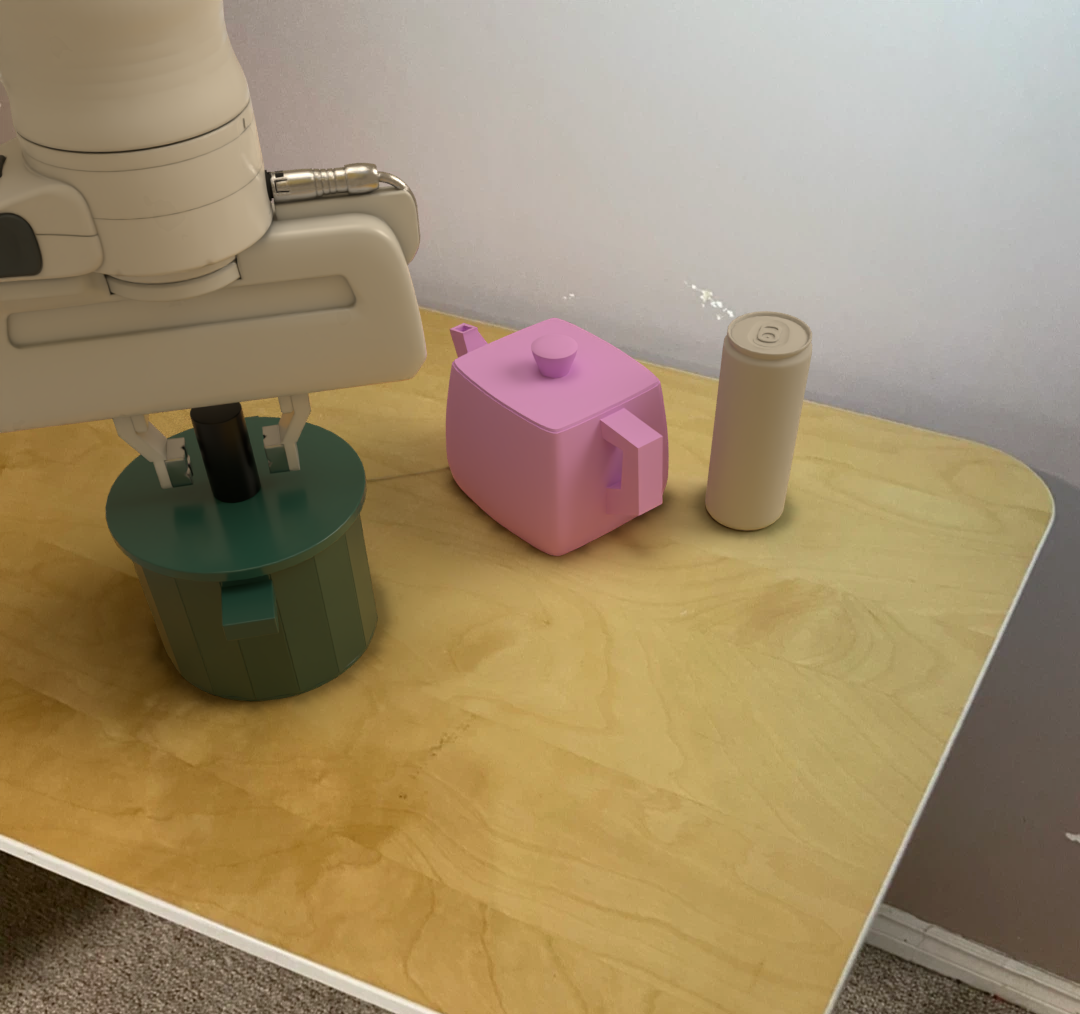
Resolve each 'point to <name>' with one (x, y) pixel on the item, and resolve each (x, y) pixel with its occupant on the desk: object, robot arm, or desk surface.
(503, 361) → the teapot
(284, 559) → the lid
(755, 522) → the beverage can
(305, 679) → the pot
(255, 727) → the desk surface
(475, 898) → the desk surface
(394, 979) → the desk surface
